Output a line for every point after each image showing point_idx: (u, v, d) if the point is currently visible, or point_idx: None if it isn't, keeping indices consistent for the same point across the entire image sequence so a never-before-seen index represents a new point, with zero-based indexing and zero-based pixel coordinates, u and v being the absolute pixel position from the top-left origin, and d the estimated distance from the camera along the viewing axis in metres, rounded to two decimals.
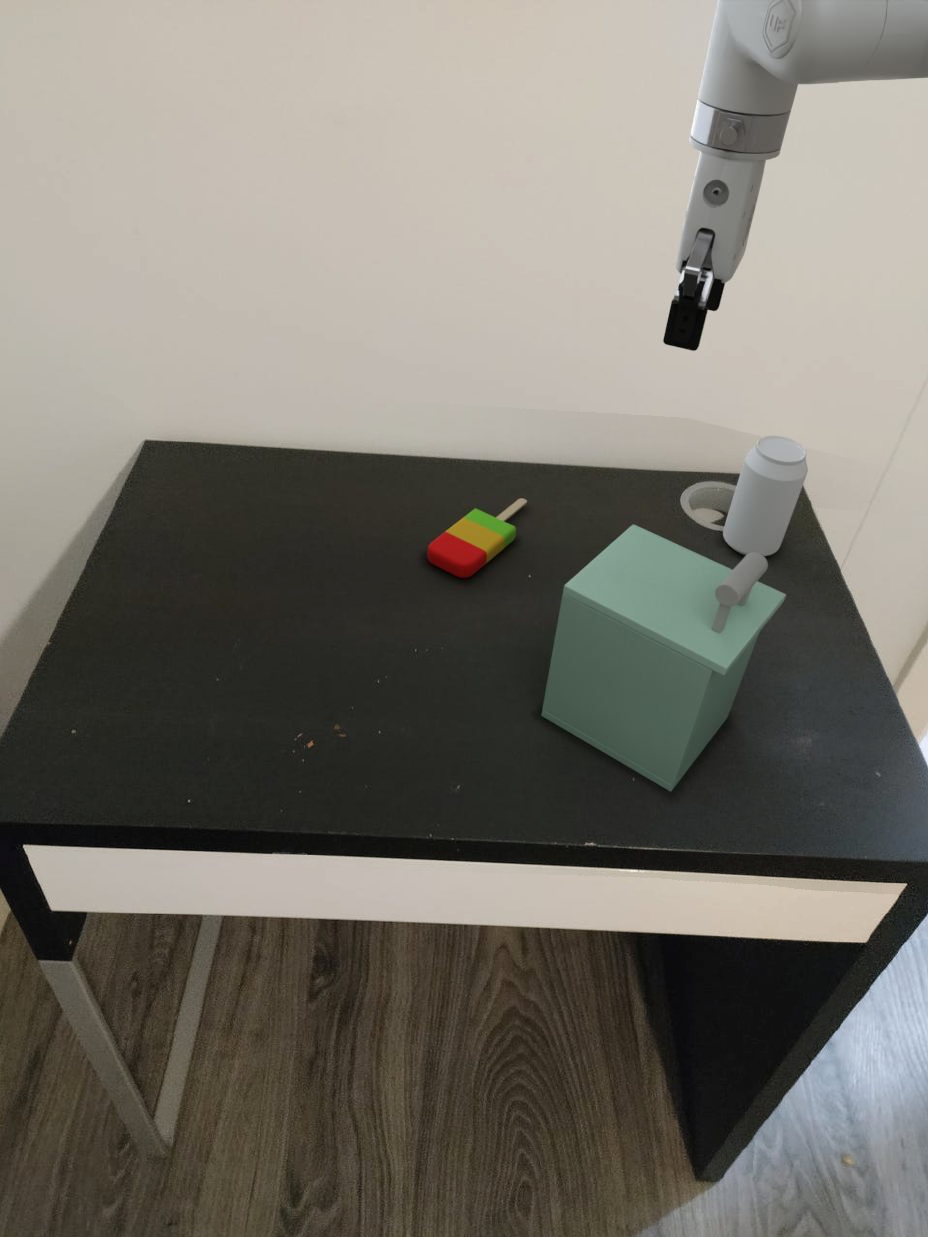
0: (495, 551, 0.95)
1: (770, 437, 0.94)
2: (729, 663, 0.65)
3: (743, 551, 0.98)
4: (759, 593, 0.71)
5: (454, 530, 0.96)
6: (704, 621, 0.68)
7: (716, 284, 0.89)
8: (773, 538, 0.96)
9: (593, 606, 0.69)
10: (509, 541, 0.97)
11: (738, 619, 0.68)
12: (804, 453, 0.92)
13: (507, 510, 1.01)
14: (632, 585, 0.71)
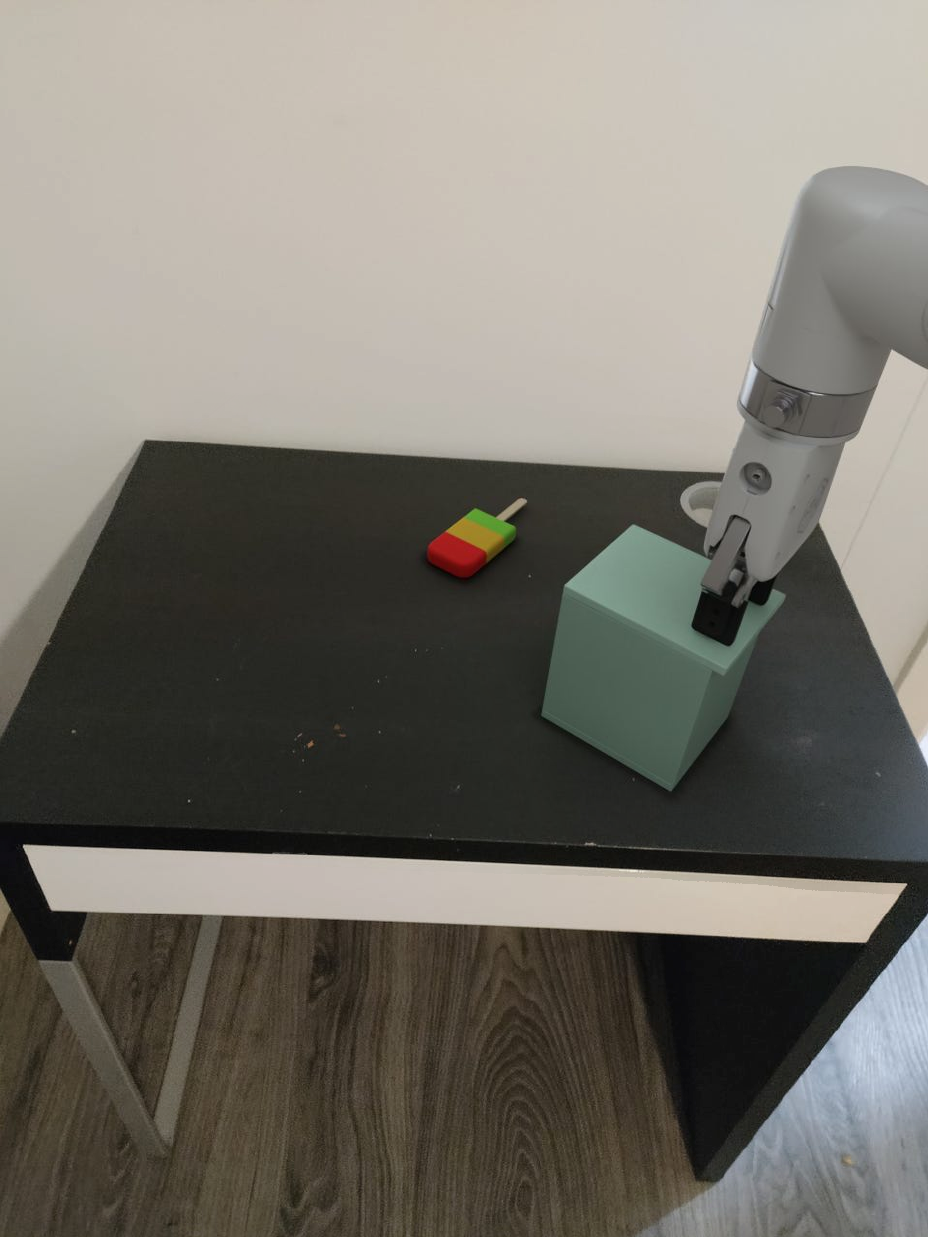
0: (495, 551, 0.95)
1: None
2: (729, 663, 0.65)
3: None
4: None
5: (454, 530, 0.96)
6: None
7: None
8: None
9: (593, 606, 0.69)
10: (509, 541, 0.97)
11: None
12: None
13: (507, 510, 1.01)
14: (632, 585, 0.71)
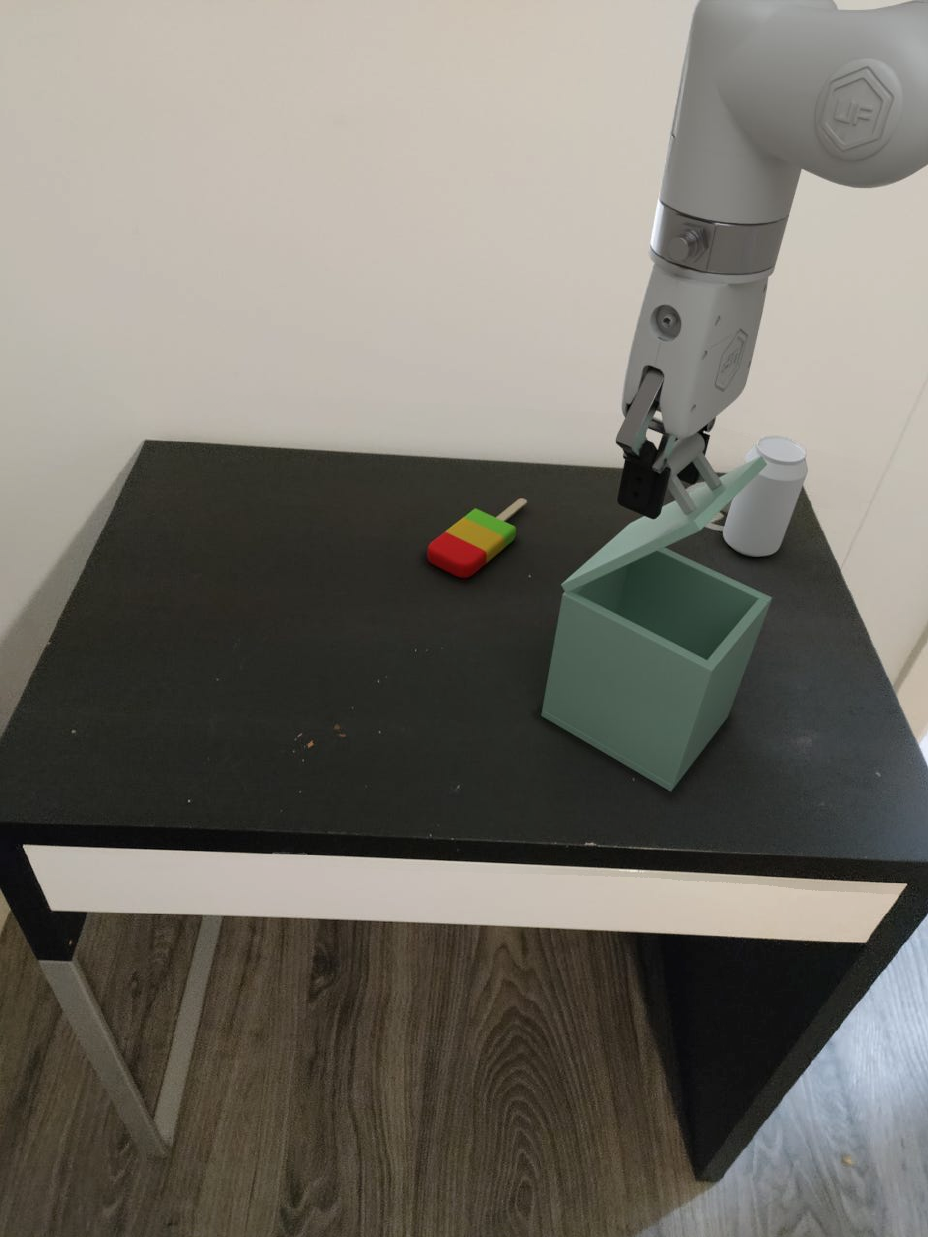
0: (495, 551, 0.95)
1: (770, 437, 0.94)
2: (698, 516, 0.60)
3: (743, 551, 0.98)
4: (735, 471, 0.67)
5: (454, 530, 0.96)
6: (679, 516, 0.65)
7: None
8: (773, 538, 0.96)
9: (588, 579, 0.68)
10: (509, 541, 0.97)
11: (712, 494, 0.64)
12: (804, 453, 0.92)
13: (507, 510, 1.01)
14: (619, 545, 0.69)
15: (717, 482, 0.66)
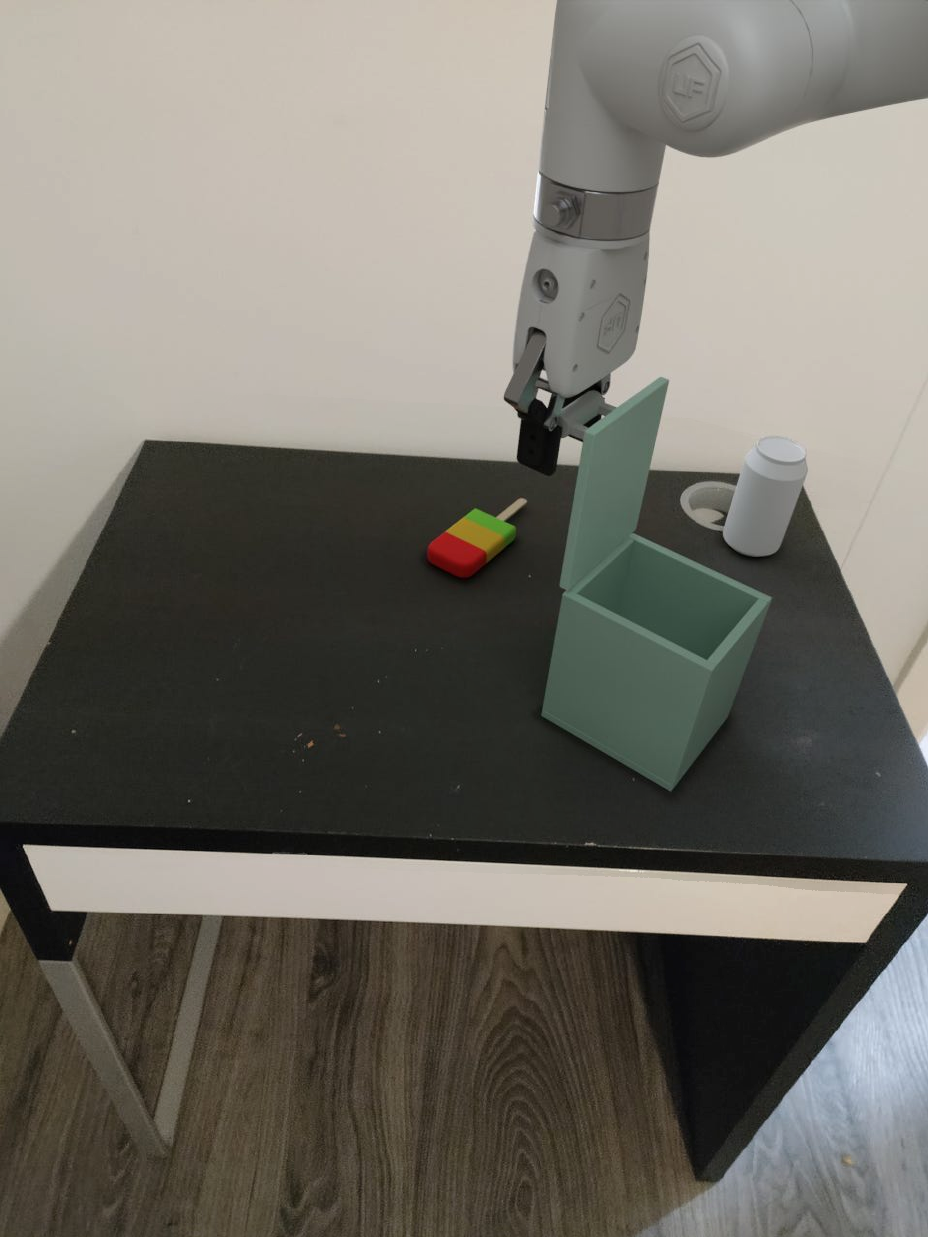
0: (495, 551, 0.95)
1: (770, 437, 0.94)
2: (589, 428, 0.62)
3: (743, 551, 0.98)
4: None
5: (454, 530, 0.96)
6: None
7: None
8: (773, 538, 0.96)
9: (569, 561, 0.68)
10: (509, 541, 0.97)
11: None
12: (804, 453, 0.92)
13: (507, 510, 1.01)
14: None
15: None
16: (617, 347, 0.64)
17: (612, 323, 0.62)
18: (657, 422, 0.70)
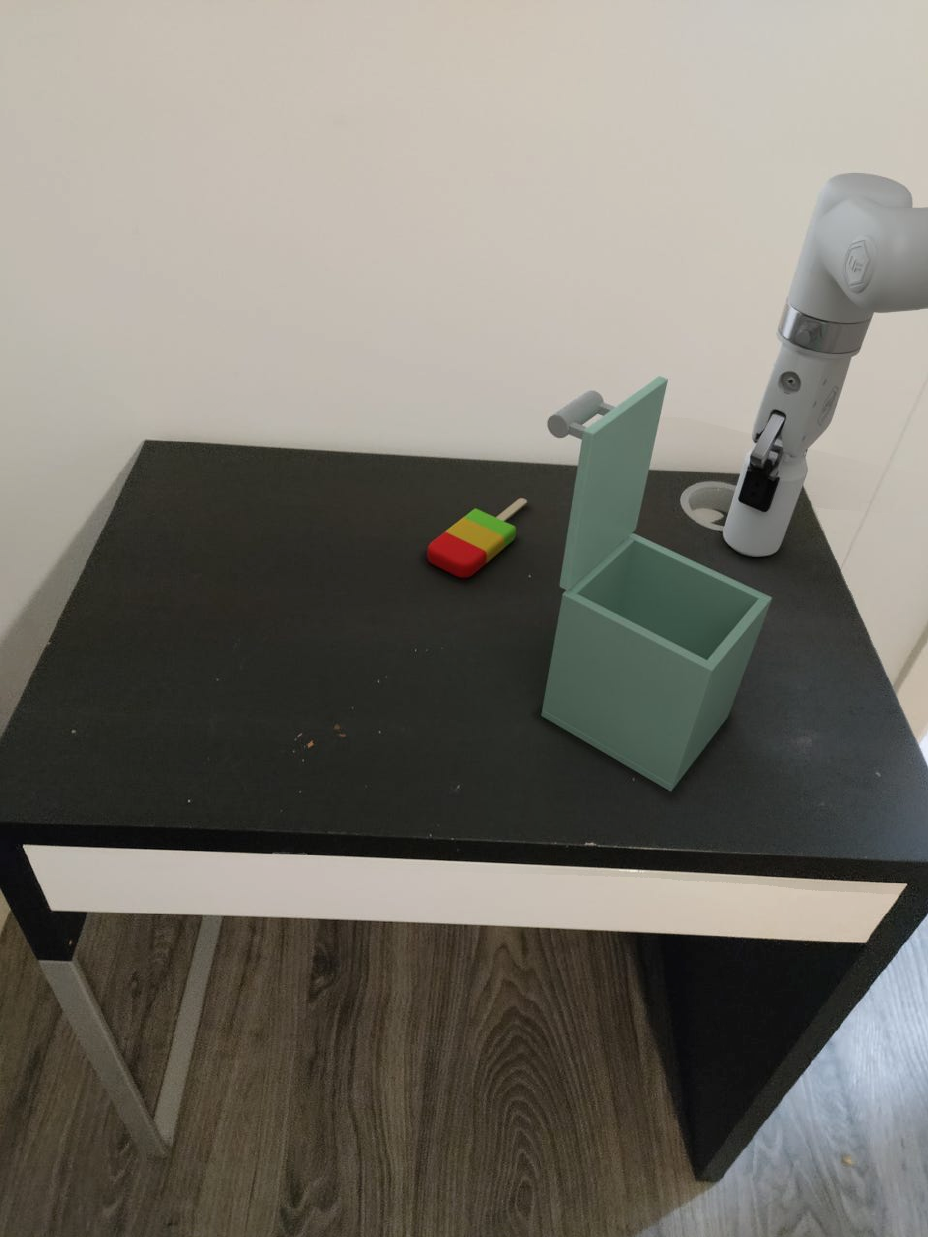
0: (495, 551, 0.95)
1: None
2: (587, 427, 0.62)
3: (743, 551, 0.98)
4: None
5: (454, 530, 0.96)
6: None
7: None
8: (773, 538, 0.96)
9: (569, 561, 0.68)
10: (509, 541, 0.97)
11: None
12: (804, 453, 0.92)
13: (507, 510, 1.01)
14: None
15: None
16: (825, 420, 0.89)
17: (827, 405, 0.87)
18: (656, 422, 0.70)
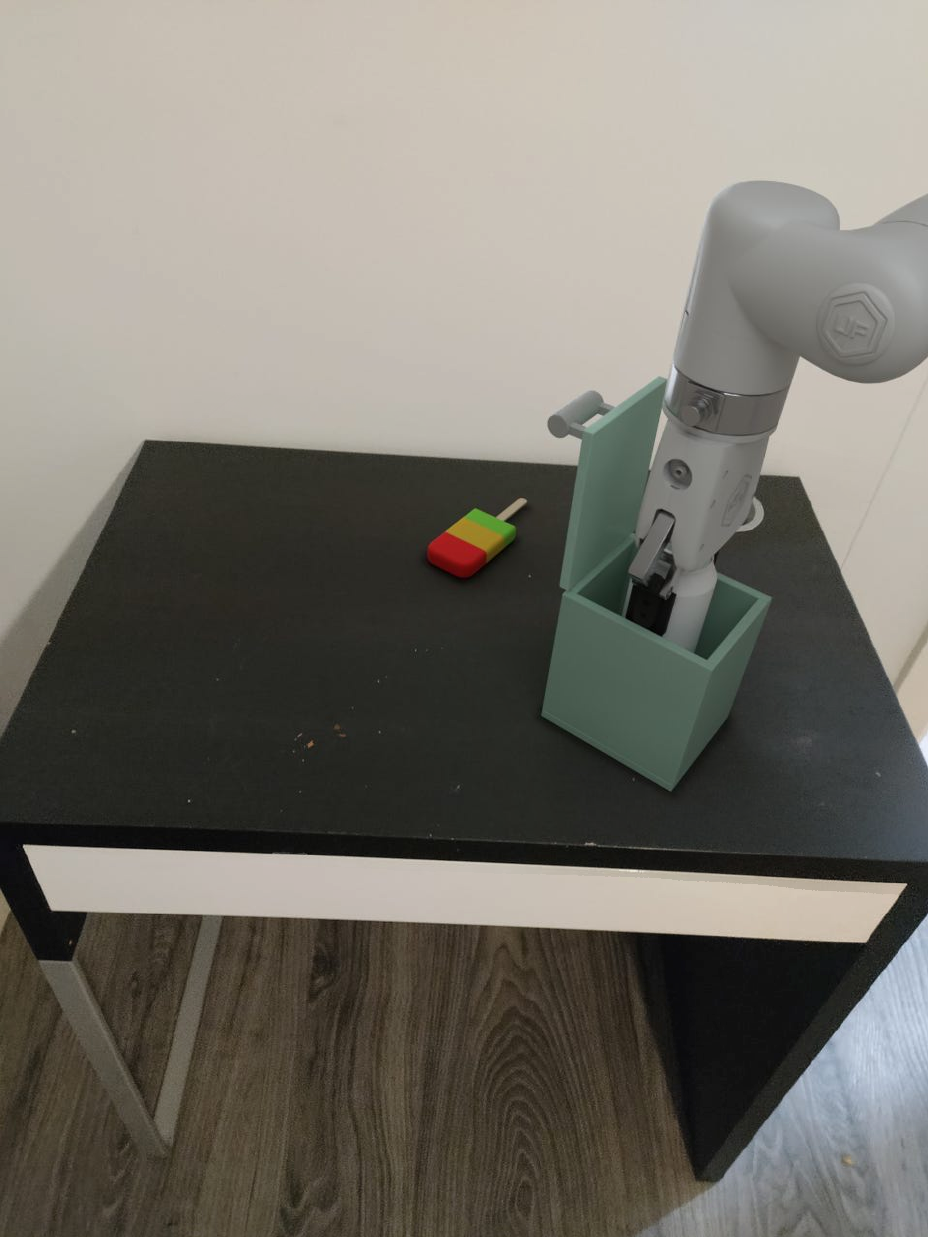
0: (495, 551, 0.95)
1: None
2: (587, 427, 0.62)
3: None
4: None
5: (454, 530, 0.96)
6: None
7: None
8: None
9: (569, 561, 0.68)
10: (509, 541, 0.97)
11: None
12: (711, 557, 0.68)
13: (507, 510, 1.01)
14: None
15: None
16: (736, 517, 0.65)
17: (736, 500, 0.63)
18: (656, 422, 0.70)
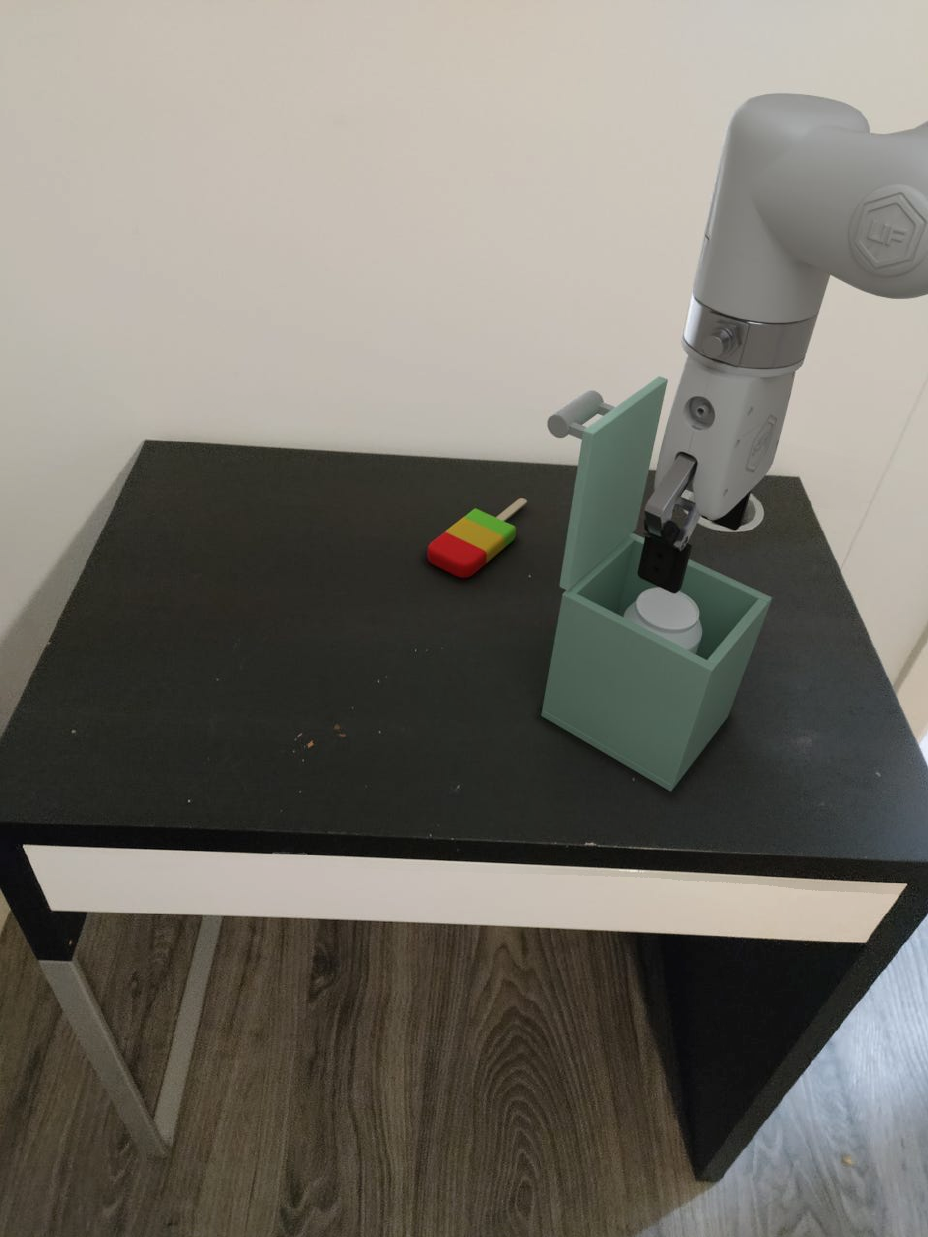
0: (495, 551, 0.95)
1: (656, 589, 0.73)
2: (587, 427, 0.62)
3: None
4: None
5: (454, 530, 0.96)
6: None
7: None
8: None
9: (569, 561, 0.68)
10: (509, 541, 0.97)
11: None
12: (696, 615, 0.72)
13: (507, 510, 1.01)
14: None
15: None
16: (760, 464, 0.62)
17: (760, 443, 0.60)
18: (656, 422, 0.70)
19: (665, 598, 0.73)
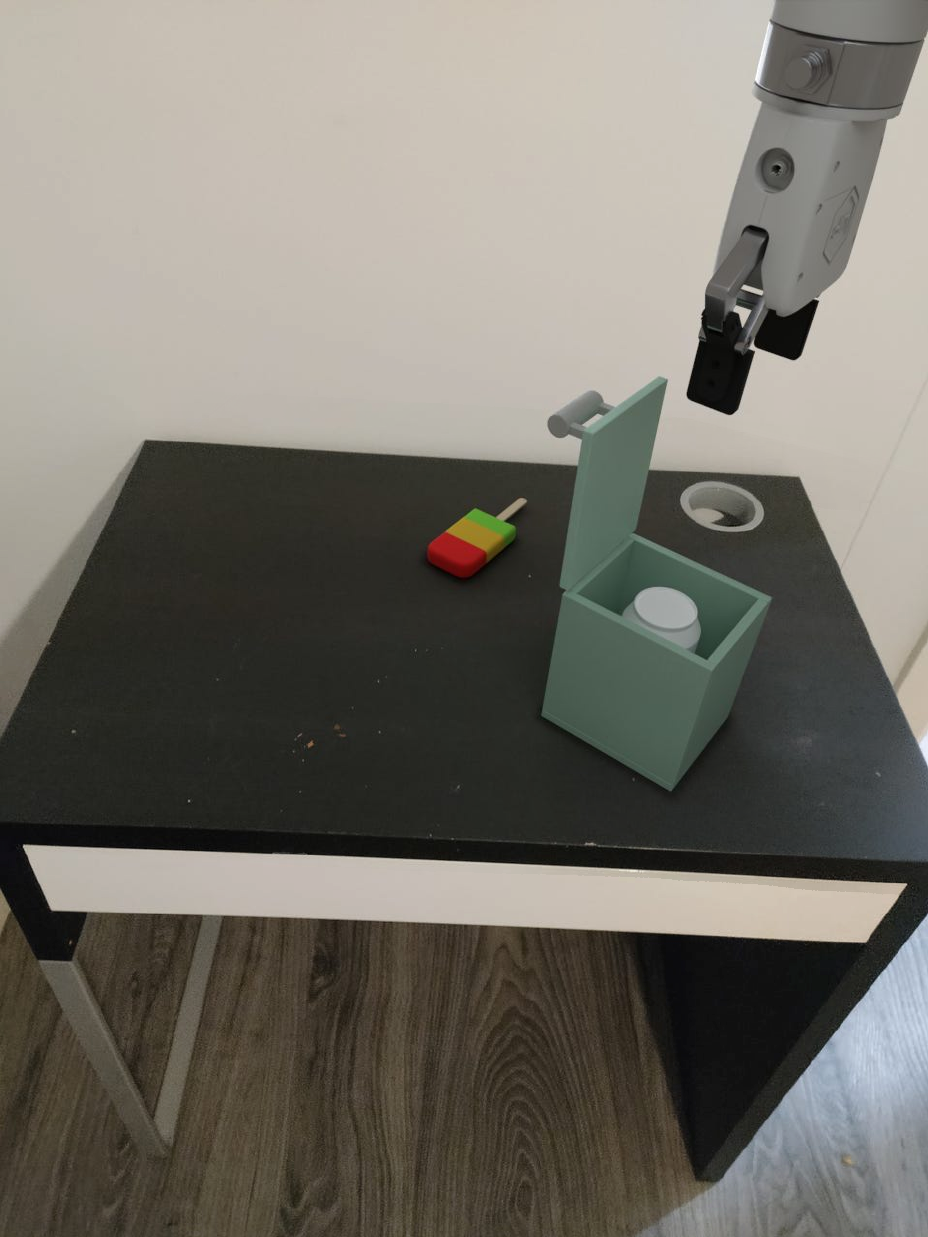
0: (495, 551, 0.95)
1: (655, 589, 0.74)
2: (587, 427, 0.62)
3: None
4: None
5: (454, 530, 0.96)
6: None
7: (798, 321, 0.59)
8: None
9: (569, 561, 0.68)
10: (509, 541, 0.97)
11: None
12: (695, 614, 0.72)
13: (507, 510, 1.01)
14: None
15: None
16: (836, 258, 0.53)
17: (840, 224, 0.51)
18: (656, 422, 0.70)
19: (663, 597, 0.73)
